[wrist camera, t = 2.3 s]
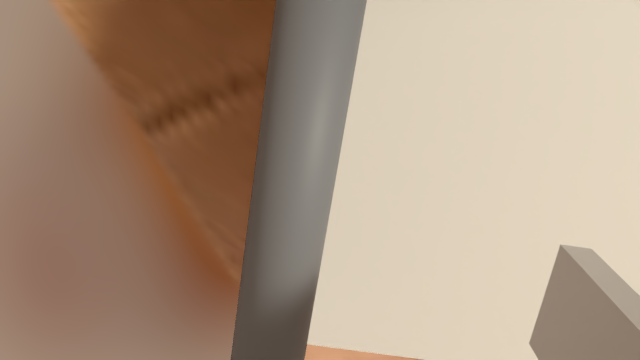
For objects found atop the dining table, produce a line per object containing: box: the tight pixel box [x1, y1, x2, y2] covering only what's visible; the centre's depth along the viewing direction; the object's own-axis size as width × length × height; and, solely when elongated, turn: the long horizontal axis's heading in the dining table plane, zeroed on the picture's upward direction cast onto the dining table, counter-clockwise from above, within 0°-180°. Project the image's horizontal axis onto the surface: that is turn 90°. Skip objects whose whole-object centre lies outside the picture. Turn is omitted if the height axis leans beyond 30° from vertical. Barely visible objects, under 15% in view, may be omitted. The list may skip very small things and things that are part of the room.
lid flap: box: [231, 0, 640, 360], centre depth 19 cm, size 17×16×8 cm
